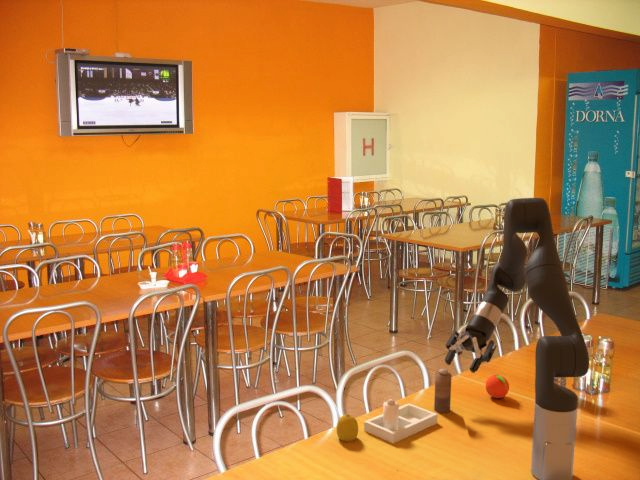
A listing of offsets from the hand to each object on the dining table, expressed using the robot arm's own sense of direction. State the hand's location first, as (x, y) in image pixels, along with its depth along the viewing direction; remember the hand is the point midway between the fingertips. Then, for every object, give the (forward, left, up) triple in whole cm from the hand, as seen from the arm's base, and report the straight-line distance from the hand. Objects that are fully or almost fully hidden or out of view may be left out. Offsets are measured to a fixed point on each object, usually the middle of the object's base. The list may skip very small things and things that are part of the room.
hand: (459, 367), depth 196 cm
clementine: (+9, -13, -13) cm, 20 cm away
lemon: (-25, +31, -13) cm, 42 cm away
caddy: (-17, +17, -12) cm, 27 cm away
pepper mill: (-5, +5, -12) cm, 14 cm away
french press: (+15, -31, -13) cm, 37 cm away
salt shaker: (-20, +20, -11) cm, 30 cm away
